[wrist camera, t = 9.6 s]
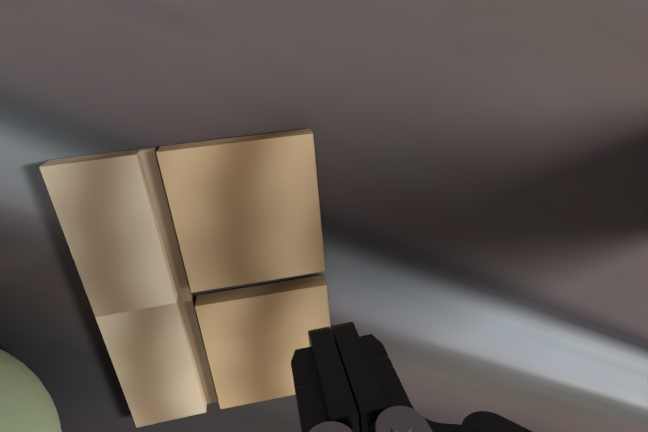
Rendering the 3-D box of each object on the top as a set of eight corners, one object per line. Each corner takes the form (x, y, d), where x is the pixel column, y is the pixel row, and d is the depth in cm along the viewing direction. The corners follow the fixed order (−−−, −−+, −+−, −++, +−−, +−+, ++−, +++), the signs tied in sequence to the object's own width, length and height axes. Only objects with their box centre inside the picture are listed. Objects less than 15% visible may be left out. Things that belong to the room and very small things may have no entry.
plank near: (309, 128, 23) (312, 133, 22) (322, 261, 27) (325, 271, 26) (160, 146, 22) (156, 152, 21) (193, 281, 26) (191, 292, 25)
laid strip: (155, 146, 22) (151, 152, 21) (217, 396, 30) (217, 409, 29) (48, 160, 22) (39, 166, 21) (140, 412, 29) (136, 427, 28)
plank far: (323, 274, 27) (326, 285, 26) (332, 374, 31) (336, 386, 30) (196, 295, 26) (194, 306, 25) (221, 395, 30) (220, 409, 29)
